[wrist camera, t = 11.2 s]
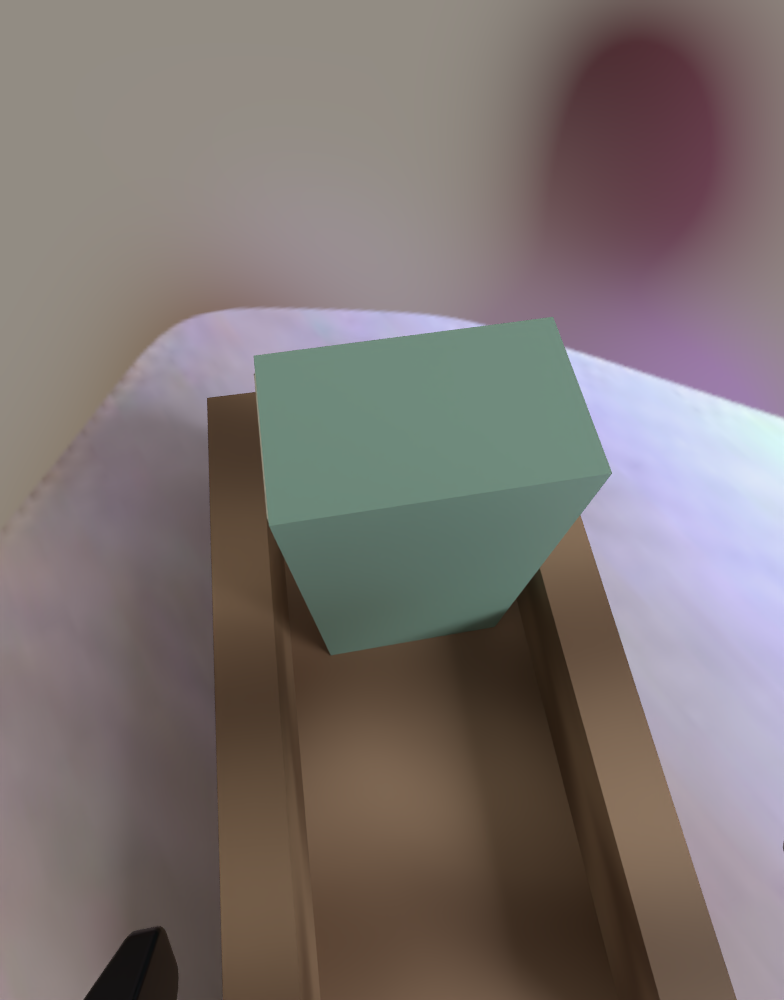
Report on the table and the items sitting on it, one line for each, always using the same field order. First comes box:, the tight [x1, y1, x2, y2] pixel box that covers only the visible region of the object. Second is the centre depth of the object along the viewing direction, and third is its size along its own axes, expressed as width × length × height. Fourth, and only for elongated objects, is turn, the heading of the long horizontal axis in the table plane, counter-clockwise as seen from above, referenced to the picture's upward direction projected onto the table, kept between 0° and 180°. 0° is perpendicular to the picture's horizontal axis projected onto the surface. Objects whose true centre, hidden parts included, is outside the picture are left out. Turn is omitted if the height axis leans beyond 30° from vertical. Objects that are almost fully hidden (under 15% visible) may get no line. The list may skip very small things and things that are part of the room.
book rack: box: [207, 392, 737, 1000], centre depth 16 cm, size 18×10×4 cm, turn 9°
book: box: [254, 317, 612, 655], centre depth 13 cm, size 3×5×10 cm, turn 100°
